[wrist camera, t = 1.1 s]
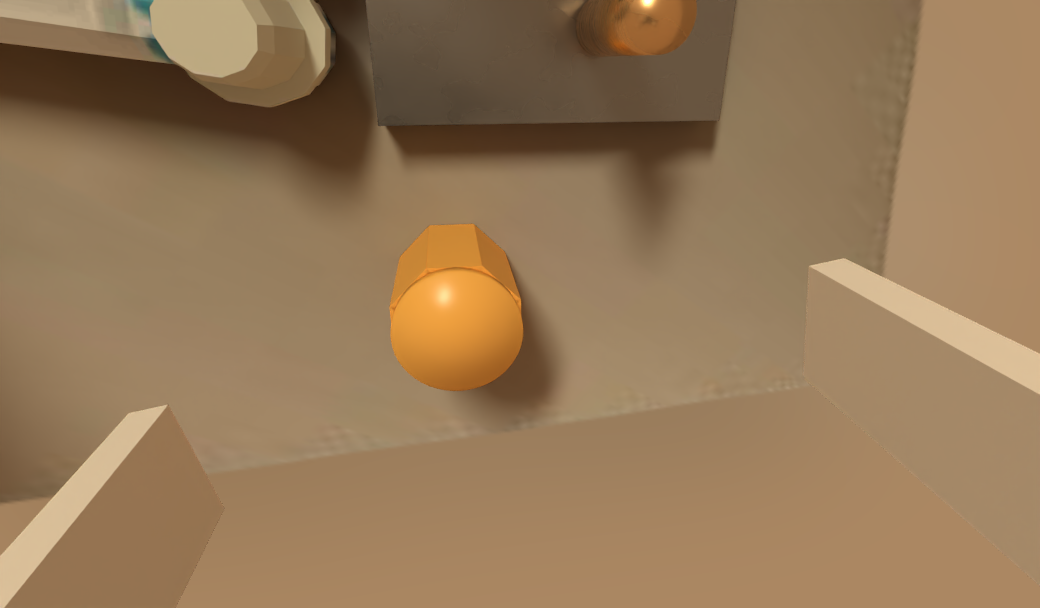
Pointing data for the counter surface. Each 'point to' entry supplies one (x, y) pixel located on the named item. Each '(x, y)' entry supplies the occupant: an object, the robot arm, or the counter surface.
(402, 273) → the orange acorn nut
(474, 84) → the grey slab with post
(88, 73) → the counter surface
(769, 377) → the counter surface
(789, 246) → the counter surface
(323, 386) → the counter surface
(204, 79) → the white handheld device
